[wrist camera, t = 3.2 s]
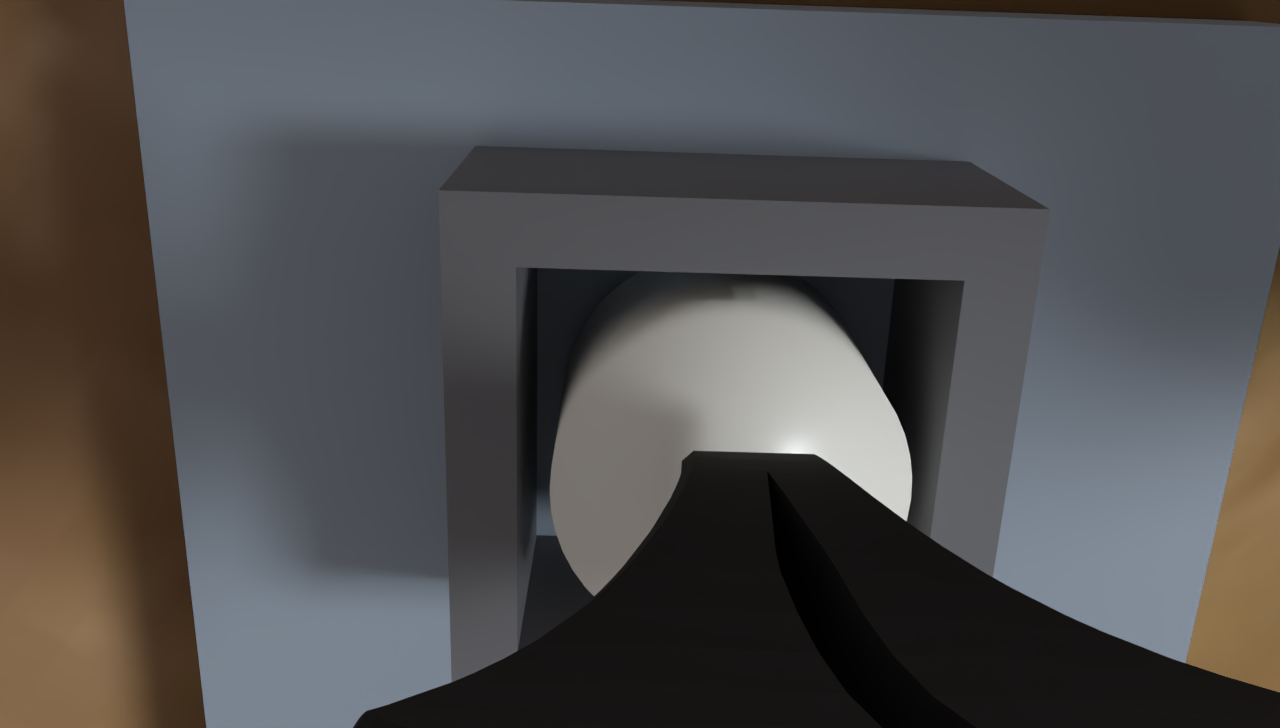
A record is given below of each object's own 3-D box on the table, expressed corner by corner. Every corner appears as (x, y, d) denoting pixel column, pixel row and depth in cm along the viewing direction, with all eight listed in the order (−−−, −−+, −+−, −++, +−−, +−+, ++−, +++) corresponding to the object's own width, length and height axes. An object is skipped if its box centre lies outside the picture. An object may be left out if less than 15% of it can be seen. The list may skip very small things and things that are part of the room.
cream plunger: (874, 256, 15) (932, 326, 12) (845, 531, 16) (892, 653, 13) (566, 247, 15) (550, 316, 12) (563, 524, 16) (548, 646, 13)
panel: (1247, 20, 16) (1503, 45, 11) (1035, 1059, 23) (1142, 1345, 18) (183, -17, 16) (-7, -6, 11) (285, 1046, 22) (194, 1334, 18)
